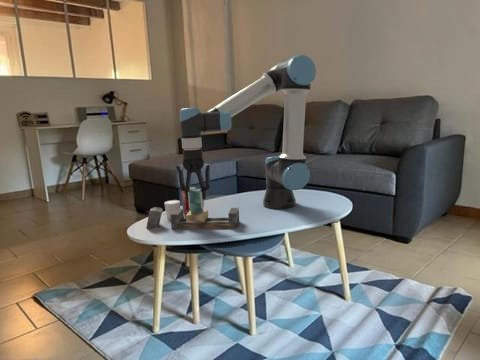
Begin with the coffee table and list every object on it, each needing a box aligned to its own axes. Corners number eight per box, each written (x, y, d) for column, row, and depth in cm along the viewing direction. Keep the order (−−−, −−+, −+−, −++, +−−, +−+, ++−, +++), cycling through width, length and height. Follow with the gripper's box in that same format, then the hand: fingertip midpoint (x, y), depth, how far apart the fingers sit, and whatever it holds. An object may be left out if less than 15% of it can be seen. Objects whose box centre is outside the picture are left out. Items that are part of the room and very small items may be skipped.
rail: (239, 221, 148) (238, 207, 146) (236, 228, 140) (236, 213, 139) (177, 222, 151) (176, 208, 150) (171, 229, 143) (170, 214, 142)
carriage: (208, 216, 149) (206, 187, 146) (204, 222, 141) (201, 192, 139) (191, 216, 150) (189, 188, 147) (186, 222, 142) (184, 192, 139)
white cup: (174, 220, 154) (172, 204, 153) (162, 218, 158) (160, 203, 157) (184, 216, 160) (183, 200, 159) (173, 214, 164) (171, 199, 162)
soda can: (196, 216, 158) (194, 189, 156) (181, 216, 159) (178, 189, 157) (201, 212, 165) (199, 186, 162) (186, 211, 166) (184, 186, 164)
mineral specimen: (146, 229, 142) (143, 209, 142) (146, 227, 150) (144, 208, 151) (165, 226, 144) (162, 206, 144) (164, 224, 152) (162, 205, 152)
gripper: (215, 146, 142) (219, 204, 147) (173, 148, 144) (178, 205, 149) (212, 149, 135) (216, 209, 139) (167, 150, 137) (173, 210, 142)
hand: (196, 207), depth 144 cm, fingers closed on carriage, 4 cm apart
